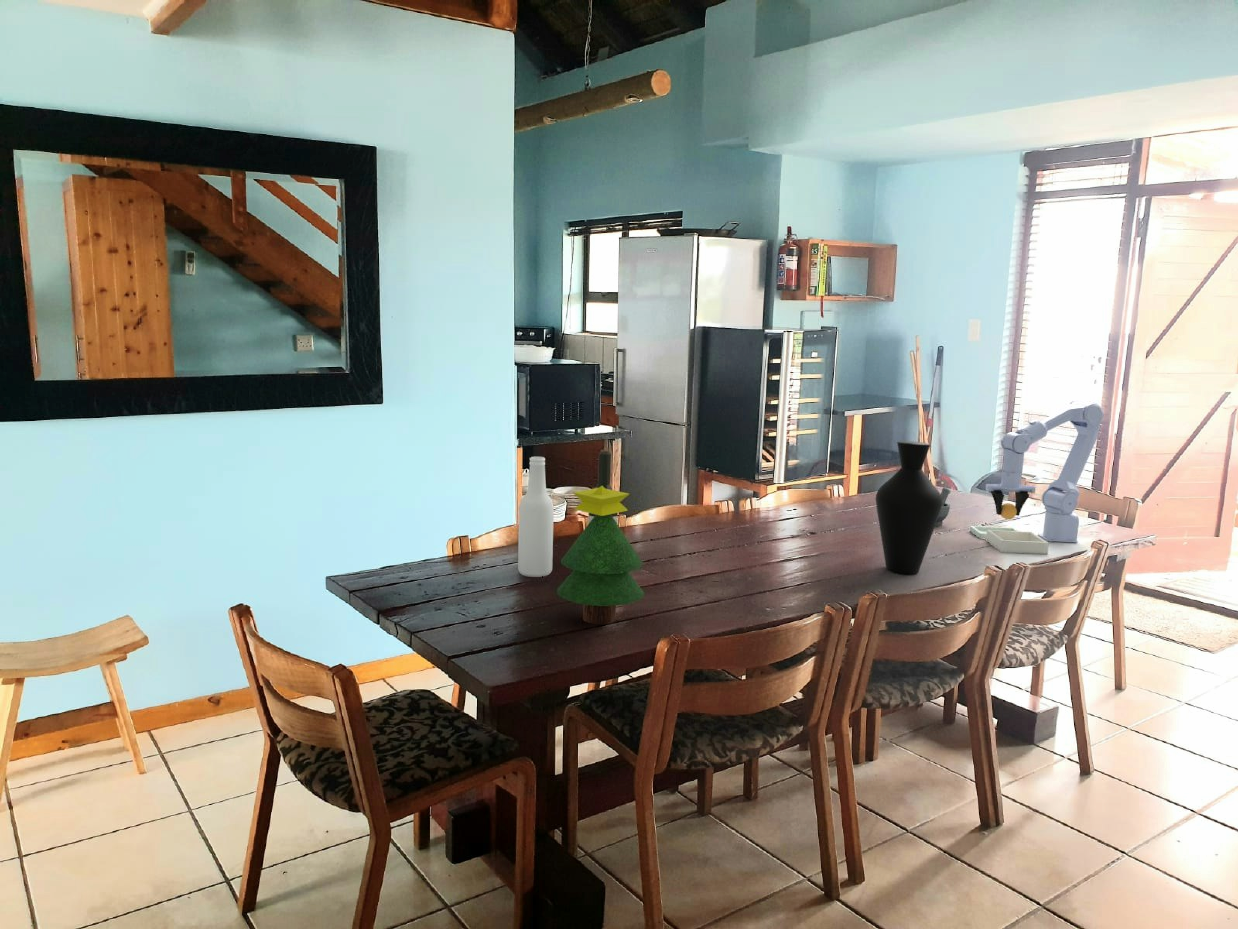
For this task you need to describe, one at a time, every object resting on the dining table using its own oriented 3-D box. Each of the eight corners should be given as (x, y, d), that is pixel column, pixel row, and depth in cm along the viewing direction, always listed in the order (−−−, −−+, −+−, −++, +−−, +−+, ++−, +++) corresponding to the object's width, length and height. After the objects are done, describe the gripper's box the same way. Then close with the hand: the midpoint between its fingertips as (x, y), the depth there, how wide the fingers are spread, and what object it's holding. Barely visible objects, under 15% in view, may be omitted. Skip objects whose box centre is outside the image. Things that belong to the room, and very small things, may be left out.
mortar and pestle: (933, 528, 309) (937, 492, 307) (911, 522, 317) (914, 487, 315) (957, 525, 315) (960, 490, 313) (934, 519, 322) (938, 485, 320)
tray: (1013, 533, 306) (1014, 527, 306) (1025, 541, 296) (1025, 535, 296) (969, 531, 307) (970, 525, 307) (979, 538, 297) (980, 533, 297)
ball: (1012, 517, 297) (1013, 501, 296) (1018, 521, 292) (1020, 505, 291) (996, 517, 297) (997, 501, 296) (1002, 520, 292) (1003, 504, 291)
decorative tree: (601, 640, 197) (606, 499, 192) (538, 617, 209) (541, 484, 204) (660, 619, 211) (666, 487, 206) (597, 599, 223) (601, 474, 218)
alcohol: (520, 567, 248) (522, 454, 243) (553, 568, 248) (556, 455, 242) (515, 576, 239) (517, 459, 234) (550, 578, 239) (553, 461, 234)
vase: (926, 583, 246) (938, 450, 240) (861, 571, 255) (872, 443, 249) (942, 569, 260) (954, 443, 254) (880, 558, 269) (890, 436, 263)
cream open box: (1030, 542, 294) (1031, 531, 294) (1047, 554, 281) (1048, 542, 280) (985, 540, 295) (987, 529, 294) (1000, 552, 281) (1002, 540, 281)
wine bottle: (594, 564, 253) (597, 453, 248) (581, 556, 260) (584, 448, 255) (621, 561, 257) (626, 452, 252) (608, 553, 264) (611, 447, 259)
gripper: (993, 473, 288) (988, 516, 291) (1041, 474, 288) (1036, 518, 290) (985, 468, 295) (980, 511, 298) (1032, 470, 295) (1027, 513, 297)
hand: (1007, 514), depth 294 cm, fingers closed on ball, 5 cm apart
